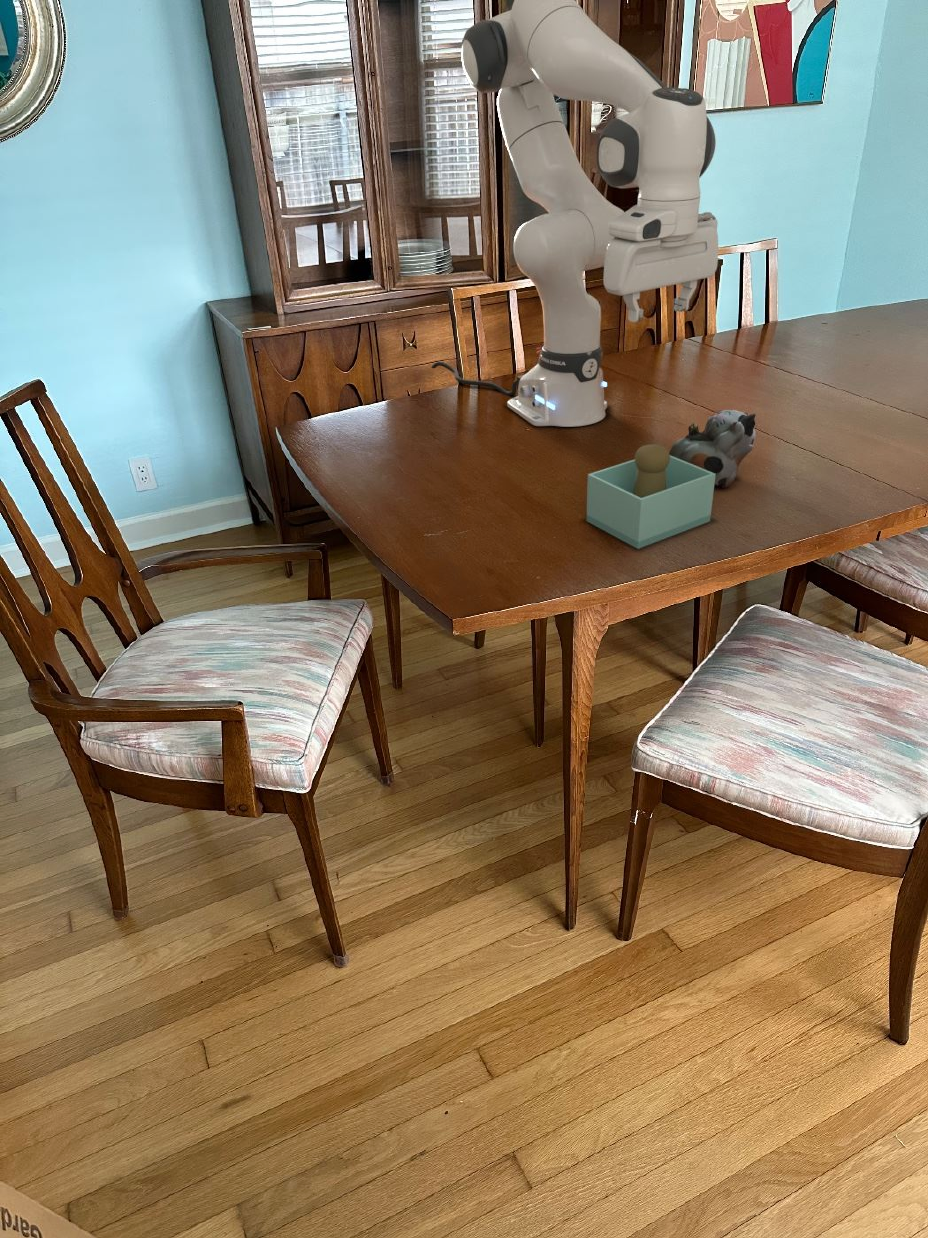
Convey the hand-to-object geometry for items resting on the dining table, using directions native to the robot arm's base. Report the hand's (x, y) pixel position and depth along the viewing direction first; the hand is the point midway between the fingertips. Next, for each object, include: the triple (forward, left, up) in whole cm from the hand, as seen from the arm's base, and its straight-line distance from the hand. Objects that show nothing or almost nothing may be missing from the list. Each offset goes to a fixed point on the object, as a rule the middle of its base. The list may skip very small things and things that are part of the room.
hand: (658, 315), depth 132 cm
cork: (+11, -10, -27) cm, 31 cm away
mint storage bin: (+6, -10, -24) cm, 26 cm away
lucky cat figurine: (+4, +10, -28) cm, 30 cm away
